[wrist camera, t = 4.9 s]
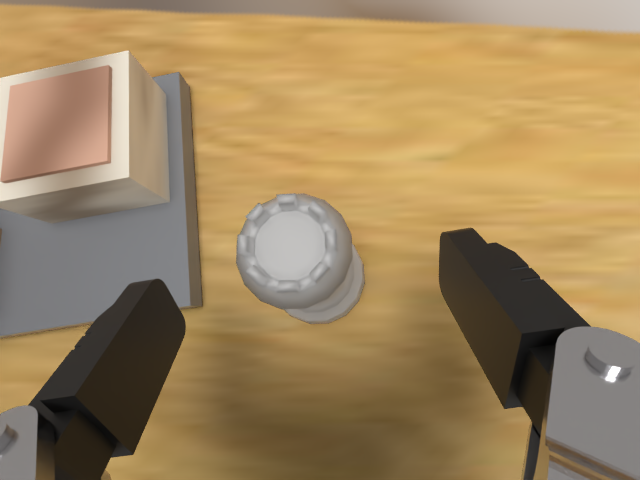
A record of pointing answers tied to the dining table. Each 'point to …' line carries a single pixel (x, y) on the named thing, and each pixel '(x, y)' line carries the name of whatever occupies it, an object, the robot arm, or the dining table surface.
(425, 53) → the dining table surface
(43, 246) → the baseplate
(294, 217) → the rook chess piece
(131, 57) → the white square block
